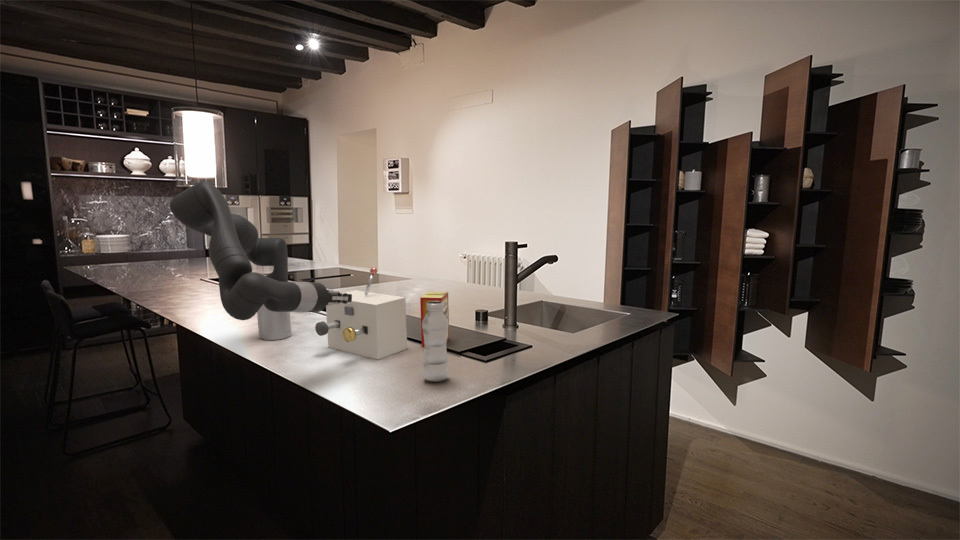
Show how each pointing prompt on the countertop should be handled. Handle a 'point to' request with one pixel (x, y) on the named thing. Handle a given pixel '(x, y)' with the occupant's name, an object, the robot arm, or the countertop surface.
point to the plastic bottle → (435, 343)
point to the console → (369, 324)
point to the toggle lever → (370, 279)
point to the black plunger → (325, 327)
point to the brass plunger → (352, 333)
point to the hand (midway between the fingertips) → (349, 298)
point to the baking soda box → (434, 297)
